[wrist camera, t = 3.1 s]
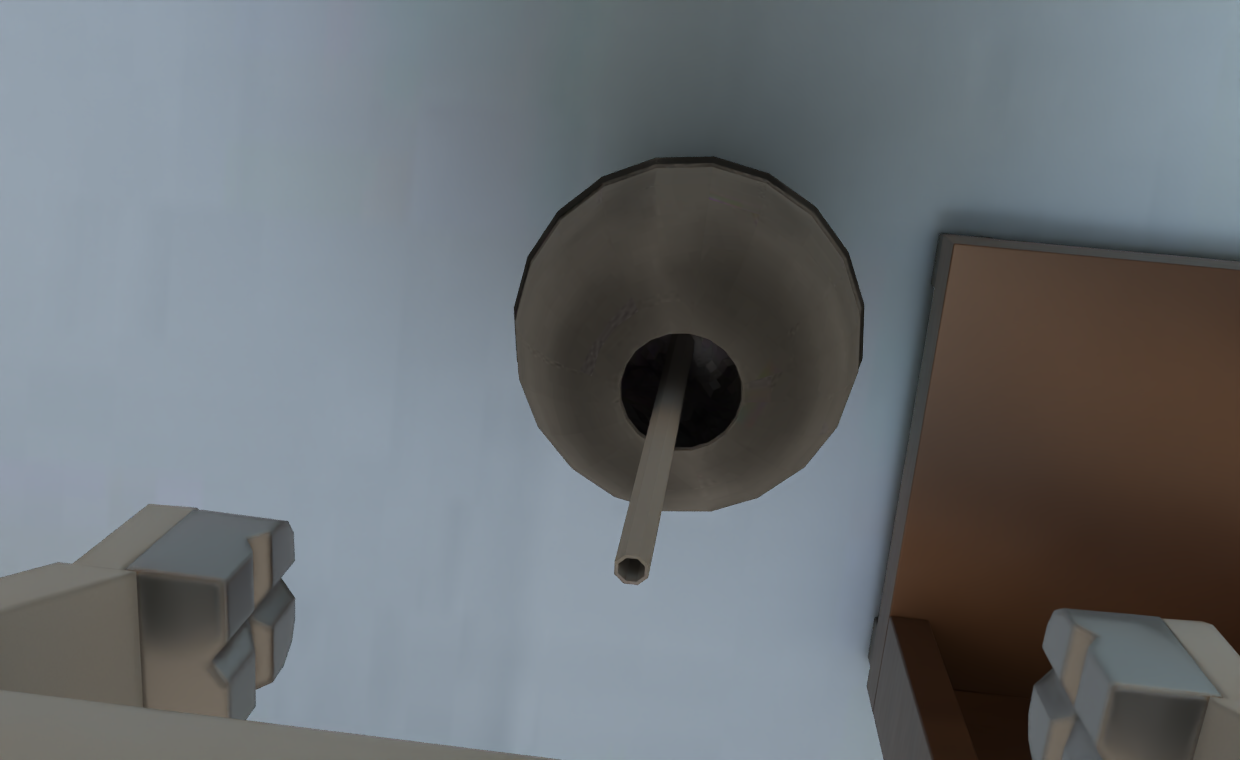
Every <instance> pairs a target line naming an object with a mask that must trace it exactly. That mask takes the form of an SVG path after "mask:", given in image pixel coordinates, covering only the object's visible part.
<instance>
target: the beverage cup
mask: <svg viewBox="0 0 1240 760" xmlns="http://www.w3.org/2000/svg"><path fill="white" fill-rule="evenodd" d="M514 319H515V335H516V352H517V362H518V374H519V380H520V383H521V385H522V388H523V390H524V393H525V395H526V398H527V400H528V403H529V405H530V408H531V410H532V413H533V415H534V418H535V421H536V423H537V426H538V428H539V429H540V430H541V431H542V432H543V434H544V435H545V436H546V437H547V439H548V440H549V441H550V442H551V443H552V445H553V446H554V447H555V448H556V450H557V451H558V452H559V453H560V454H561V456H562V457H563V458H564V459H565V461H566V462H567V463H568V464H569V465H570V467H571V468H572V469H573V470H575V471H576V472H578V473H579V474H581V475H582V476H584V477H585V478H587V479H588V480H590V481H591V482H593V483H594V484H596V485H597V486H599V487H600V488H602V489H603V490H605V491H606V492H608V493H609V494H611V495H612V496H614V497H617V498H620V499H623V500H627V501H630V503H629V507H628V511H627V515H626V519H625V523H624V527H623V531H622V535H621V539H620V543H619V547H618V551H617V555H616V559H615V569H614V574H615V575H616V576H617V577H618V578H619V579H620V580H621V581H622V582H623V583H625V584H634V585H638V584H640V583H641V582H643V581H644V580H645V579H647V578H648V575H649V571H650V566H651V561H652V556H653V551H654V546H655V541H656V536H657V531H658V526H659V521H660V516H661V511H714V510H717V509H721V508H724V507H727V506H731V505H734V504H738V503H741V502H745V501H748V500H752V499H755V498H758V497H760V496H761V495H763V494H764V493H766V492H767V491H769V490H770V489H772V488H774V487H775V486H777V485H778V484H780V483H781V482H783V481H784V480H786V479H787V478H789V477H790V476H792V475H793V474H795V473H796V472H798V471H799V470H801V469H803V468H804V467H805V466H806V465H807V464H808V462H809V461H810V460H811V459H812V457H813V456H814V455H815V454H816V452H817V451H818V450H819V449H820V448H821V446H822V445H823V444H824V443H825V441H826V440H827V439H828V438H829V437H830V435H831V434H832V433H833V432H834V430H835V429H836V428H837V426H838V423H839V421H840V418H841V415H842V413H843V410H844V408H845V405H846V402H847V400H848V397H849V394H850V392H851V389H852V387H853V384H854V381H855V379H856V376H857V373H858V369H859V366H860V364H861V361H862V356H863V329H864V302H863V299H862V295H861V292H860V289H859V285H858V282H857V279H856V275H855V272H854V269H853V266H852V262H851V259H850V256H849V252H848V251H847V250H846V248H845V247H844V245H843V244H842V243H841V241H840V240H839V238H838V237H837V236H836V234H835V233H834V231H833V230H832V229H831V227H830V226H829V225H828V223H827V222H826V220H825V219H824V218H823V216H822V215H821V213H820V212H819V211H818V209H817V208H816V207H815V206H814V205H813V204H811V203H810V202H808V201H807V200H806V199H804V198H803V197H801V196H800V195H799V194H797V193H796V192H794V191H793V190H792V189H790V188H789V187H787V186H786V185H785V184H783V183H782V182H780V181H779V180H778V179H776V178H775V177H773V176H772V175H771V174H769V173H766V172H763V171H759V170H756V169H753V168H750V167H746V166H743V165H740V164H737V163H733V162H730V161H727V160H724V159H720V158H717V157H714V156H713V157H666V158H654V159H651V160H648V161H645V162H642V163H640V164H637V165H634V166H631V167H628V168H625V169H623V170H620V171H617V172H614V173H611V174H608V175H606V176H603V177H601V178H600V179H599V180H597V181H596V182H595V183H593V184H592V185H591V186H590V187H588V188H587V189H586V190H584V191H583V192H582V193H581V194H579V195H578V196H577V197H575V198H574V199H573V200H572V201H570V202H569V203H568V204H566V205H565V206H564V207H563V208H561V209H560V210H559V211H558V212H557V213H556V215H555V216H554V218H553V219H552V221H551V222H550V224H549V225H548V227H547V228H546V230H545V231H544V233H543V234H542V236H541V237H540V239H539V240H538V242H537V243H536V245H535V246H534V248H533V249H532V251H531V252H530V254H529V255H528V257H527V261H526V265H525V269H524V272H523V276H522V280H521V283H520V287H519V291H518V295H517V298H516V302H515V306H514Z"/></svg>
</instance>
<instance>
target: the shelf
mask: <svg viewBox="0 0 1240 760" xmlns="http://www.w3.org/2000/svg"><path fill="white" fill-rule="evenodd" d="M931 285H932V286H933V287H934V293H933V299H932V305H931V311H930V317H929V322H928V328H927V334H926V340H925V346H924V352H923V358H922V364H921V370H920V376H919V381H918V387H917V393H916V399H915V405H914V411H913V417H912V423H911V429H910V434H909V440H908V446H907V452H906V458H905V464H904V470H903V476H902V482H901V487H900V493H899V499H898V505H897V511H896V517H895V523H894V529H893V535H892V540H891V546H890V552H889V558H888V564H887V570H886V576H885V582H884V588H883V594H882V599H881V605H880V611H879V617H875V619H874V624H873V630H872V636H871V642H870V648H869V654H868V659H869V663H870V670H869V676H868V682H867V690H868V694H869V698H870V703H871V707H872V711H873V715H874V719H875V724H876V728H877V732H878V737H879V741H880V746H881V750H882V754H883V759H884V760H1032V756H1031V751H1030V746H1029V741H1028V713H1029V708H1030V702H1031V697H1032V692H1033V686H1034V684H1035V683H1036V682H1037V681H1039V680H1040V679H1041V678H1042V677H1043V676H1044V675H1045V674H1046V673H1048V672H1049V671H1050V670H1051V669H1052V668H1053V667H1052V665H1051V663H1050V661H1049V659H1048V657H1047V656H1046V654H1045V652H1044V650H1043V648H1042V645H1043V641H1044V636H1045V632H1046V628H1047V624H1048V622H1049V620H1050V618H1051V616H1052V614H1053V611H1054V610H1058V609H1063V608H1068V609H1079V610H1091V611H1102V612H1113V613H1124V614H1135V615H1146V616H1157V617H1160V618H1161V619H1177V620H1192V621H1203V622H1206V623H1209V624H1211V625H1213V626H1214V627H1215V628H1216V629H1217V630H1218V631H1219V633H1220V634H1221V635H1222V636H1223V637H1224V638H1225V640H1226V641H1227V642H1228V643H1229V644H1230V645H1231V646H1232V648H1233V649H1234V650H1235V651H1236V652H1237V653H1238V655H1239V656H1240V262H1239V261H1228V260H1217V259H1206V258H1196V257H1185V256H1174V255H1163V254H1152V253H1141V252H1131V251H1120V250H1109V249H1098V248H1087V247H1076V246H1066V245H1055V244H1044V243H1033V242H1022V241H1011V240H1001V239H993V238H989V237H978V236H967V235H956V234H945V233H941V234H940V235H939V239H938V245H937V251H936V257H935V263H934V269H933V275H932V280H931Z"/></svg>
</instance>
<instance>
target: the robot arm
mask: <svg viewBox="0 0 1240 760" xmlns="http://www.w3.org/2000/svg"><path fill="white" fill-rule="evenodd" d="M294 561H295V552H294V532H293V530H292V528H291V526H290V524H289V522H288V521H284V520H276V519H269V518H261V517H253V516H246V515H238V514H230V513H223V512H215V511H208V510H199V509H198V508H194V507H182V506H169V505H156V504H148V505H147V506H146V507H144V508H143V509H142V510H141V511H139V512H138V513H137V514H135V515H134V516H133V517H132V518H130V519H129V520H128V521H126V522H125V523H124V524H123V525H121V526H120V527H119V528H118V529H116V530H115V531H114V532H112V533H111V534H110V535H109V536H107V537H106V538H105V539H103V540H102V541H101V542H100V543H98V544H97V545H96V546H95V547H93V548H92V549H91V550H89V551H88V552H87V553H86V554H84V555H83V556H82V557H80V558H79V559H78V560H77V561H75V562H74V563H73V564H69V563H60V562H57V563H53V564H50V565H46V566H42V567H38V568H35V569H31V570H27V571H23V572H20V573H16V574H12V575H8V576H5V577H1V578H0V760H560V759H552V758H544V757H536V756H528V755H520V754H512V753H504V752H496V751H488V750H480V749H472V748H464V747H456V746H448V745H440V744H432V743H424V742H416V741H408V740H400V739H392V738H384V737H376V736H368V735H360V734H352V733H344V732H336V731H328V730H320V729H312V728H304V727H296V726H288V725H280V724H272V723H264V722H256V721H248V720H246V719H247V718H248V716H249V715H250V714H251V712H252V711H253V709H254V708H255V707H256V692H255V690H256V689H258V688H261V687H263V686H265V685H267V684H270V683H272V682H273V681H274V680H275V678H276V677H277V675H278V674H279V672H280V671H281V669H282V668H283V666H284V663H285V660H286V657H287V654H288V652H289V649H290V646H291V643H292V638H293V630H294V623H295V597H294V596H293V594H292V593H291V592H290V590H289V589H288V587H287V586H286V584H285V583H284V581H283V580H282V579H281V577H282V576H283V575H284V574H285V572H286V571H287V570H288V569H289V567H290V566H291V565H292V564H293V563H294ZM1042 648H1043V650H1044V652H1045V654H1046V656H1047V657H1048V659H1049V661H1050V663H1051V665H1052V667H1053V668H1052V669H1051V670H1050V671H1049V672H1048V673H1046V674H1045V675H1044V676H1043V677H1042V678H1041V679H1040V680H1039V681H1037V682H1036V683H1035V684H1034V686H1033V692H1032V697H1031V702H1030V708H1029V713H1028V741H1029V746H1030V751H1031V756H1032V760H1240V656H1239V655H1238V653H1237V652H1236V651H1235V650H1234V649H1233V648H1232V646H1231V645H1230V644H1229V643H1228V642H1227V641H1226V640H1225V638H1224V637H1223V636H1222V635H1221V634H1220V633H1219V631H1218V630H1217V629H1216V628H1215V627H1214V626H1213V625H1211V624H1209V623H1206V622H1203V621H1192V620H1177V619H1161V618H1160V617H1157V616H1146V615H1135V614H1124V613H1113V612H1102V611H1091V610H1079V609H1068V608H1063V609H1058V610H1054V611H1053V614H1052V616H1051V618H1050V620H1049V622H1048V624H1047V628H1046V632H1045V636H1044V641H1043V645H1042Z"/></svg>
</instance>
